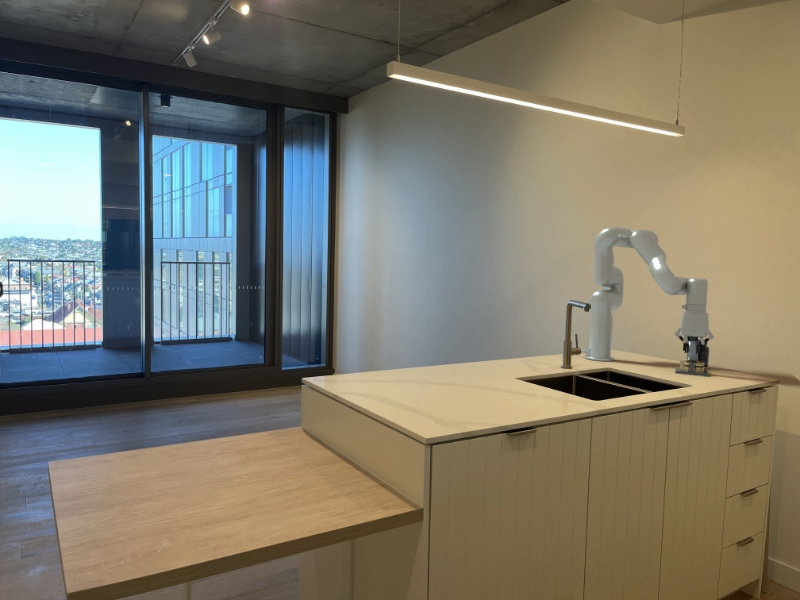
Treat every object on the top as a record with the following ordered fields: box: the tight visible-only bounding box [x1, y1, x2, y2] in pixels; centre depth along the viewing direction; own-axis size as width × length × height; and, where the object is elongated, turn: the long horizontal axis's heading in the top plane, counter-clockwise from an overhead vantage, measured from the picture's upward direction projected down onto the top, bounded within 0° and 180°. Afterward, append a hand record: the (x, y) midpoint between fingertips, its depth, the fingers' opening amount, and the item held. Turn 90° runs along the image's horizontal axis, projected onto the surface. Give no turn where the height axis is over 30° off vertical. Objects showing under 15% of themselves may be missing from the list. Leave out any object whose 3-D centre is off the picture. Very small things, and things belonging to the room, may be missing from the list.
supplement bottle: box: [697, 338, 710, 367], centre depth 266 cm, size 7×7×12 cm
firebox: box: [674, 359, 709, 377], centre depth 249 cm, size 12×12×4 cm
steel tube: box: [686, 336, 699, 367], centre depth 249 cm, size 4×4×14 cm
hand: (692, 352), depth 249 cm, fingers open, 4 cm apart
